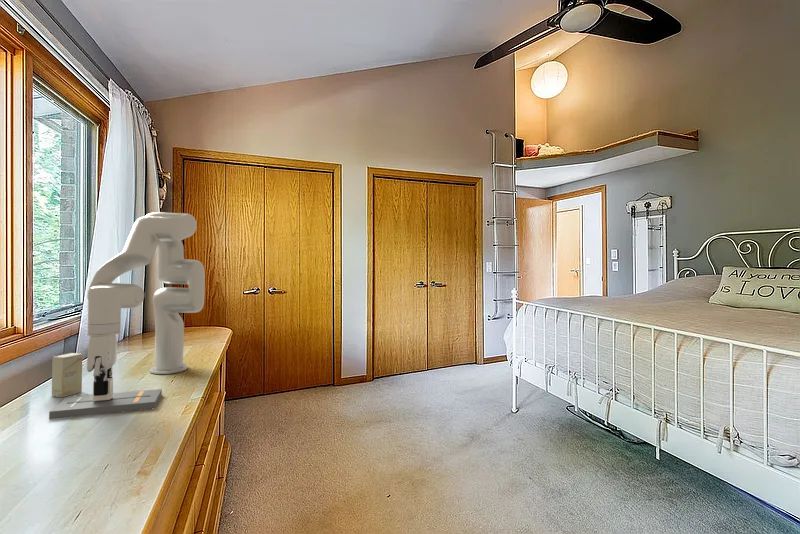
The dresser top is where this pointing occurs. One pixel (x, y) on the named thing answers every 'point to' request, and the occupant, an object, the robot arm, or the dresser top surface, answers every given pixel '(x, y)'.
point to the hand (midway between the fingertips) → (103, 392)
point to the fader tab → (110, 392)
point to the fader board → (106, 404)
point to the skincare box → (66, 374)
